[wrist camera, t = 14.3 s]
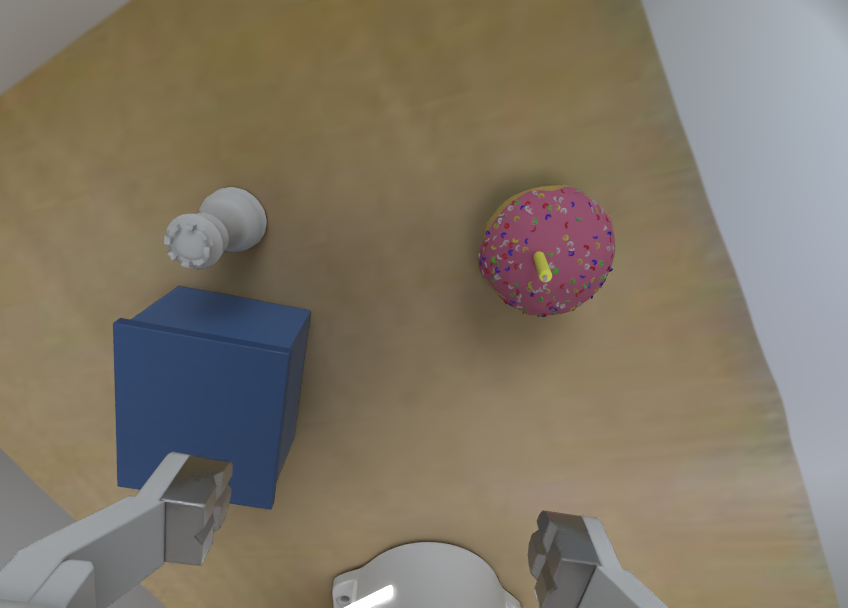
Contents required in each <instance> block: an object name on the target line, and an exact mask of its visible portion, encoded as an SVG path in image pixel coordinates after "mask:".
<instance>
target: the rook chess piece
mask: <svg viewBox="0 0 848 608" xmlns="http://www.w3.org/2000/svg"><path fill="white" fill-rule="evenodd" d="M266 223H267V220H266V216H265V212H264V209H263V207H262V206H261V204H260V203H259V201H258V200H257V199H256V198H255V197H254V196H253V195H251V194H250V193H248V192H247V191H245V190H242V189H238V188H235V187H228V188H221V189H219V190H217V191H215V192H214V193H212V194H211V195H209V196H208V197H206V198H205V200H204V201H203V203H202V205H201V206H200V208H199V212H198V213H196V214H185V215H180V216H178V217H177V218H175V219H174V220H172V221H171V223H170V224H169V226H168V228H167V230H166V236H165V240H164V245H168V248H169V251H170V252H168V253H167V254H168V255H169V256H170V258H171V259H172V260H174V259H176V260H177V261H179V262H180V263H181V266H185V267H189V268H190V267H191V268H195V269H201V268H208V267H210V266H212V265H213V264H215V263H216V262H217V261H218V259H219V258H220V256H221V255H222V253H224V251H228V252H239V251H245V250H246V249H249V248H251V247H252V246H254V245H255V244H257V243H259V241H260V240H261V238H262V237H263V235H264V234H265V230H266Z"/></svg>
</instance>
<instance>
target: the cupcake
mask: <svg viewBox="0 0 848 608" xmlns="http://www.w3.org/2000/svg"><path fill="white" fill-rule="evenodd" d="M614 253H615V239H614V234H613V226H612V221H611V218H610V216H609V215H608V213H607V212H606V211H605V210H604V209H603V208H602V207H601V206H600V205H598V204H597V202H596V200H591V199H590V198H589V197H587V196H586V195H584V194H583V193H582V192H580V191H579V190H577V189H575V188H574V187H572V186H569V185H553V186H542V187H537V188H532V189H528V190H525V191H522V192H520V193H518V194H516V195H514V196H512V197H510V198H509V199H507V200H506V201H505V202H503V203H502V204H501V205H500V207H499V208H498V209H497V210H496V211H495V213H494V214H493V215H492V216H491V217H490V218H489V220H488V221H487V224H486V226H485V230H484V234H483V238H482V244H481V246H480V249H479V254H478V260H479V267H480V271H481V273H482V275H483V277H484V278H485V279H486V280H487V281H488V283H489V285H490V286H491V288H492V289H493V290H494V291H495V293H496V294H497V295H498V296H499V297H500V298H501V299H502V300H503V301H504V302H505V304H508V305H510V306H512V307H514V308H516V309H518V310H520V311H522V313H523V314H524V313H526V314H528V315H537V316H541V315H542V317H546V316H547V315H554V314H561V313H566V312H569V311H571V310H572V311H574V310H575V309H576V307H578V306H580V305H581V304H582V303H584V302H585V301H587V300H588V299H589V298H591V299H592V298H593V295H594V294H595V293H596V292H598V290H599V288H601V287H602V285H603V283H604V282H605V280H606V277H607V275H608V273H609V272H610V271H612V270H613V269H612V268H611V265H612V262H613V258H614ZM610 269H611V270H610ZM543 315H544V316H543Z"/></svg>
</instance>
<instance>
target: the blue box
mask: <svg viewBox="0 0 848 608" xmlns="http://www.w3.org/2000/svg"><path fill="white" fill-rule="evenodd" d="M310 313H311V311H310V310H305V309H300V308H294V307H289V306H284V305H278V304H273V303H267V302H262V301H257V300H251V299H246V298H240V297H235V296H230V295H224V294H219V293H213V292H208V291H203V290H197V289H192V288H187V287H181V286H178V287H176V288H175V289H173V290H172V291H171V292H169V293H168V294H166V295H165V296H163V297H162V298H161V299H159V300H158V301H156V302H155V303H154V304H152V305H151V306H149V307H148V308H146V309H145V310H144V311H142V312H141V313H139V314H138V315H136V316H135V317H134V318H132V319H131V320H129V319H123V318H120V319H118V320H117V321H115V322H114V323H113V336H114V372H115V408H116V444H117V480H118V486H119V487H126V488H132V489H139V490H141V488H142V487H143V486H144V484H145V483H146V482H147V480H148V479H149V478H150V477H151V475H152V474H153V473H154V471H155V470H156V469H157V467H158V466H159V465H160V464H161V462H162V461H163V460H164V458H165V457H166V456H167V455H168V454H169V453H171V452H177V453H182V454H188V455H196V456H201V457H207V458H212V459H218V460H224V461H229V462H231V463H232V464H233V470H232V476H231V478H230V480H229V482H228V485H229V486H230V488H231V497H230V502H229V503H231V504H237V505H244V506H250V507H257V508H263V509H272V506H273V504H274V499H275V491H276V483H277V480H278V477H279V475H280V472H281V470H282V467H283V465H284V462H285V460H286V457H287V455H288V452H289V449H290V447H291V444H292V442H293V439H294V435H295V427H296V420H297V412H298V404H299V397H300V389H301V382H302V374H303V366H304V359H305V351H306V344H307V336H308V328H309V321H310Z"/></svg>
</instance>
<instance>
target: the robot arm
mask: <svg viewBox="0 0 848 608" xmlns="http://www.w3.org/2000/svg"><path fill="white" fill-rule="evenodd" d="M232 470H233V464H232V463H231V462H229V461H224V460H218V459H212V458H207V457H201V456H196V455H188V454H182V453H177V452H171V453H169V454H168V455H167V456H166V457H165V458H164V460H163V461H162V462H161V464H160V465H159V466H158V467H157V469H156V470H155V471H154V473H153V474H152V475H151V477H150V478H149V479H148V480H147V482H146V483H145V484H144V486H143V487H142V488H141V490H140V491H139V492H138V494H137V495H136V496H135V497H131V496H128V497H126V498H124V499H122V500H120V501H118V502H116V503H114V504H112V505H110V506H108V507H106V508H104V509H102V510H99V511H97V512H95V513H93V514H91V515H89V516H87V517H85V518H83V519H81V520H79V521H77V522H75V523H73V524H71V525H69V526H67V527H65V528H63V529H61V530H59V531H57V532H55V533H53V534H50V535H49V536H46V537H45V538H42V539H40V540H38V541H36V542H34V543H32V544H30V545H28V546H26V547H24V548H22V549H20V550H19V551H18V552H17V553H16V554H15V555H14V556H13V557H12V558H11V559H10V560H9V562H8V563H7V564H6V565H5V566H4V567H3V568H2V569H1V570H0V608H107V607H108V606H110V605H111V604H112V603H114V602H115V601H116V600H117V599H119V598H120V597H121V596H123V595H124V594H125V593H127V592H128V591H129V590H131V589H132V588H133V587H134V586H136V585H137V584H138V583H140V582H141V581H142V580H144V579H145V578H146V577H148V576H149V575H150V574H151V573H153V572H154V571H155V570H157V569H158V568H159V567H161V566H162V565H163V564H164V562H171V563H180V564H189V565H198V566H201V565H202V563H203V561H204V559H205V557H206V555H207V553H208V551H209V549H210V547H211V545H212V543H213V534H214V531H216V530H218V529H219V528H220V527H221V525H222V523H223V521H224V519H225V516H226V513H227V510H228V507H229V502H230V497H231V488H230V486H229V485H228V482H229V480H230V478H231V476H232ZM537 525H538V528H539V530H538V531H536V532H535V533H533V534H532V536H531V539H530V542H529V548H528V564H529V568H530V573H531V574H532V575H533V576H534V577H535V579H536V580H537V583H536V585H535V588H534V590H535V594H536V598H537V602H538V606H539V608H669V607H668V606H667V605H666V604H665V603H663V602H662V601H661V600H660V599H659V598H658V597H657V596H656V595H655V594H654V593H652V592H651V591H650V590H649V589H648V588H647V587H646V586H645V585H644V584H643V583H641V582H640V581H639V580H638V579H637V578H636V577H635V576H634V575H633V574H632V573H630V572H629V571H628V570H623V569H622V567H621V565H620V563H619V560H618V558H617V556H616V554H615V552H614V550H613V547H612V545H611V543H610V541H609V539H608V536H607V534H606V532H605V530H604V528H603V525H602V523H601V521H600V520H599V519H598V518H594V517H587V516H580V515H579V516H577V515H571V514H564V513H557V512H550V511H542V512H541V513H540V514H539V517H538V519H537ZM332 595H333V607H334V608H520V603H519V602H518V600H517V599H516V598H515V597H513V596H512V595H511V594H509V593H508V592H507V591H505V590H504V589H503V588H502V586H501V584H500V583H499V580H498V578H497V576H496V574H495V573H494V571H493V570H492V568H491V567H490V566H489V565H488V564H487V563H486V562H485V561H484V560H483V559H481V558H480V557H479V556H477V555H475V554H474V553H472V552H470V551H468V550H466V549H463V548H461V547H458V546H454V545H450V544H445V543H437V542H419V543H411V544H406V545H402V546H398V547H395V548H393V549H390V550H388V551H386V552H384V553H382V554H380V555H379V556H377V557H376V558H374V559H373V560H372V561H370V562H369V563H368V564H366V565H365V566H363V567H362V568H360V569H356V570H353V571H349V572H346V573H343V574H341V575H339V576H337V577H336V578H335V579H334V580H333V588H332Z"/></svg>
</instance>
